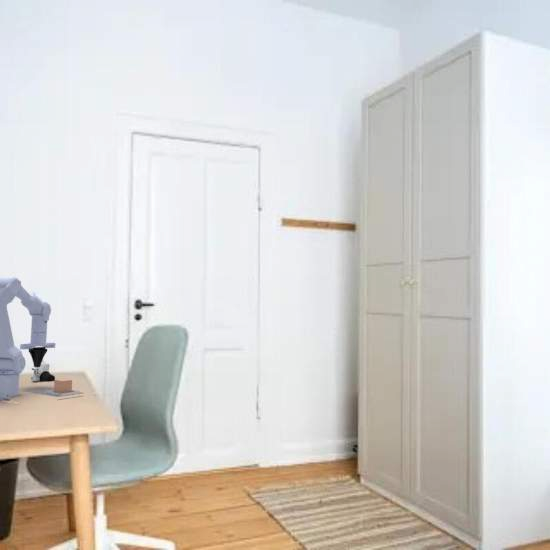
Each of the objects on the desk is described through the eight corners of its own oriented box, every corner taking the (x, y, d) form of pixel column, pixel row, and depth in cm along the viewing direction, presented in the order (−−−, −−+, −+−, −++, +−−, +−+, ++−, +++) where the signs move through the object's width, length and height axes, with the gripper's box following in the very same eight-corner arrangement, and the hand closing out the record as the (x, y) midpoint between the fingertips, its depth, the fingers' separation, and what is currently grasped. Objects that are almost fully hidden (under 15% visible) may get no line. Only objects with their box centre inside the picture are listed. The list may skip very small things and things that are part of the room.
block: (71, 393, 211) (72, 380, 212) (60, 394, 208) (61, 381, 208) (64, 392, 214) (65, 378, 214) (53, 393, 211) (54, 379, 211)
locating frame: (79, 393, 212) (80, 391, 212) (61, 396, 205) (61, 393, 205) (64, 390, 217) (65, 388, 217) (45, 393, 209) (45, 391, 209)
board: (84, 396, 214) (84, 392, 214) (57, 400, 203) (57, 396, 203) (49, 390, 224) (49, 387, 224) (22, 394, 213) (22, 390, 214)
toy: (40, 362, 255) (59, 357, 246) (38, 388, 251) (57, 384, 242) (27, 361, 250) (45, 355, 241) (24, 387, 246) (43, 383, 237)
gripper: (48, 331, 231) (46, 364, 230) (16, 332, 218) (14, 367, 218) (59, 332, 227) (57, 366, 226) (27, 333, 215) (25, 369, 214)
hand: (37, 367), depth 222 cm, fingers closed
